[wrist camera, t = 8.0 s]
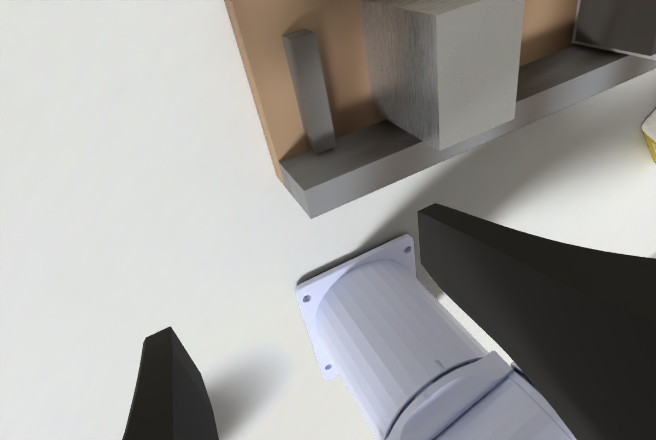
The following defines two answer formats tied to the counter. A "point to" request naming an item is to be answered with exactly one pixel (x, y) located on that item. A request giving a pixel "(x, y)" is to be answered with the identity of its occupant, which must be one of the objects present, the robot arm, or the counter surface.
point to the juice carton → (650, 133)
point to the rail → (355, 97)
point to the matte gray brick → (443, 64)
